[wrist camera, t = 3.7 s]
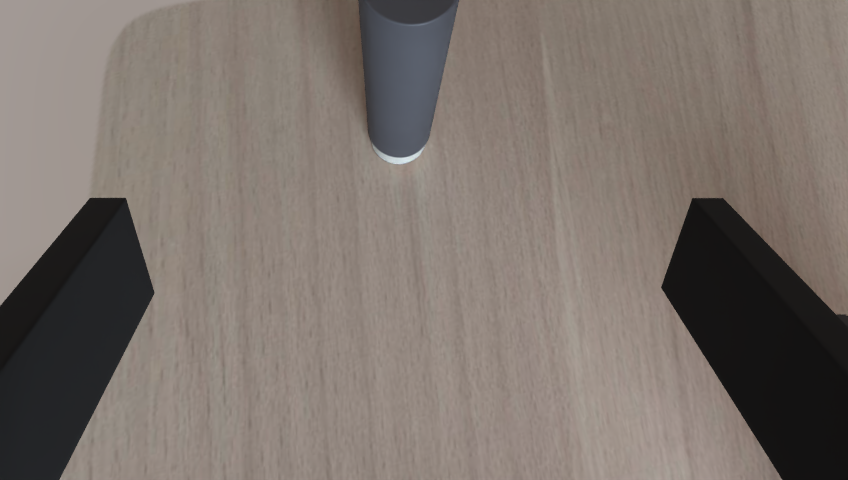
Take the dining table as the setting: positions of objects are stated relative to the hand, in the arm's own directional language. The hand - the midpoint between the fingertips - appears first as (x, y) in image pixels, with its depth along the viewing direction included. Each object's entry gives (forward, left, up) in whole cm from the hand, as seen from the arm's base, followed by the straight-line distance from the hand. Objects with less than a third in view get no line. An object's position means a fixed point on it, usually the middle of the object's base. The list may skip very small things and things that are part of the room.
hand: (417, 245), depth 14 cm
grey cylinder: (-3, +6, -12) cm, 14 cm away
